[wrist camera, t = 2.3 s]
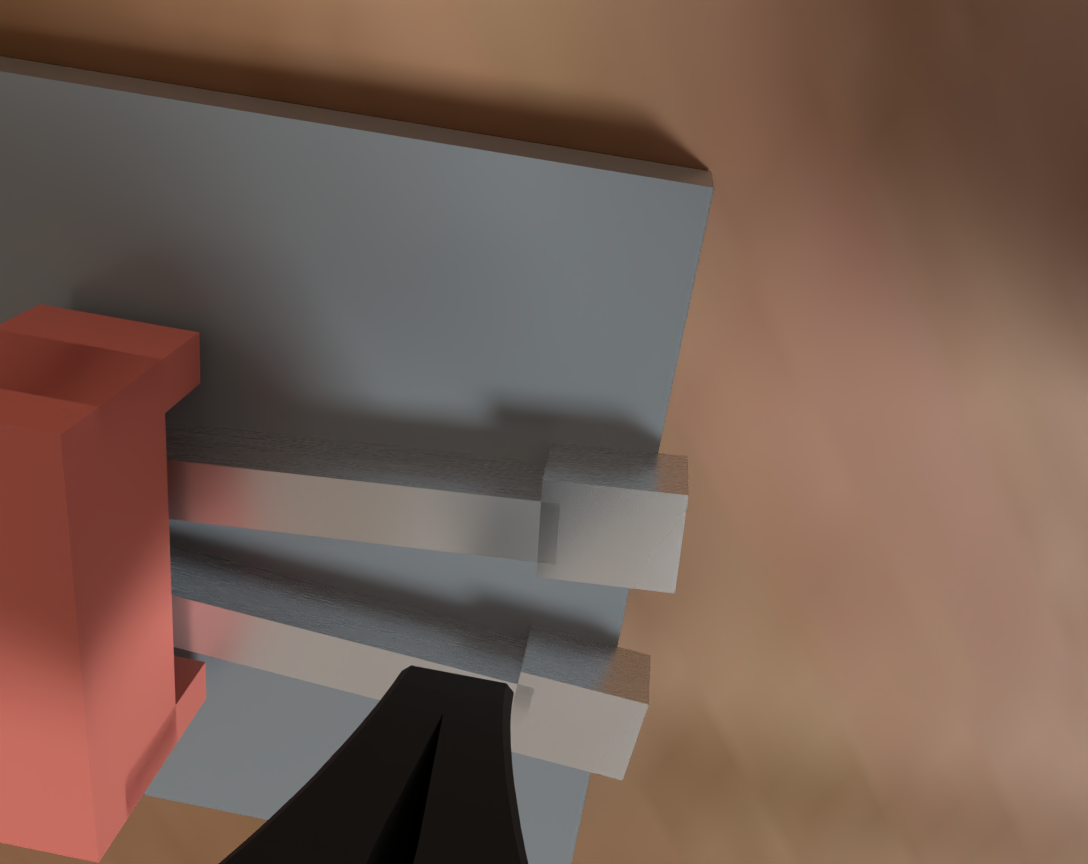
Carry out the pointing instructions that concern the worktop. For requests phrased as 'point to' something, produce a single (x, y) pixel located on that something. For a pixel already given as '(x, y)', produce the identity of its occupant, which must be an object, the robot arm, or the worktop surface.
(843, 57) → the worktop surface
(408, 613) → the tongs
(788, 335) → the worktop surface
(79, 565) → the red block
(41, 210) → the slate board
